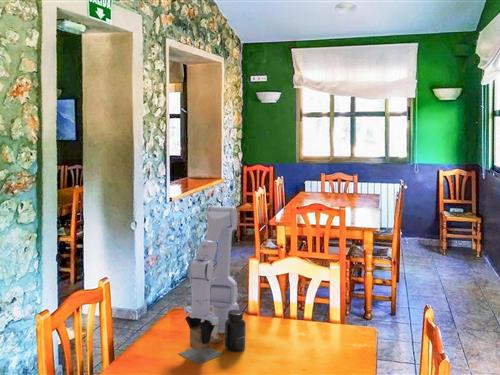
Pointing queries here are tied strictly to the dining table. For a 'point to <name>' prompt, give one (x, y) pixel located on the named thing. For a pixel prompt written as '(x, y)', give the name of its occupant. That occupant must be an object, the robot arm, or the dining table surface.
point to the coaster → (200, 355)
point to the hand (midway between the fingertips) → (200, 340)
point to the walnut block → (197, 339)
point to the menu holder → (214, 334)
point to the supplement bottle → (235, 331)
